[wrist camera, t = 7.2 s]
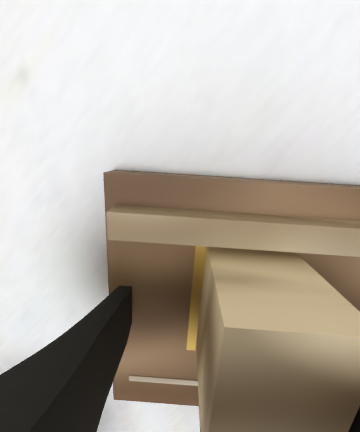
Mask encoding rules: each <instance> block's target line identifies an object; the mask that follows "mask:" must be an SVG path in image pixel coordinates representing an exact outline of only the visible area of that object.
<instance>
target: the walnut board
mask: <svg viewBox="0 0 360 432" xmlns="http://www.w3.org/2000/svg"><path fill="white" fill-rule="evenodd" d="M104 193H105V215H106V237H107V260H108V282H109V294H111V293H112V292H113V291H114V290H115V289H116V288H117V287H118V286H131V287H132V325H131V329H130V333H129V337H128V341H127V345H126V347H125V350H124V353H123V356H122V358H121V361H120V364H119V367H118V369H117V372H116V375H115V377H114V380H113V393H114V400H127V401H140V402H153V403H166V404H179V405H192V406H199V395H198V373H197V352H196V339H197V330H198V320H199V311H200V301H201V292H202V282H203V273H204V263H205V254H206V247H221V248H236V249H250V250H265V251H280V252H295V253H297V254H298V255H299V256H300V257H301V258H302V259H303V260H304V261H305V262H307V263H308V264H309V265H310V266H311V267H312V268H313V269H314V270H315V271H316V272H317V273H318V274H319V275H321V276H322V277H323V278H324V279H325V280H326V281H327V282H328V283H329V284H330V285H331V286H332V287H334V288H335V289H336V290H337V291H338V292H339V293H340V294H341V295H342V296H343V297H344V298H345V299H347V300H348V301H349V302H350V303H351V304H352V305H353V306H354V307H355V308H356V309H357V310H358V311H359V312H360V186H359V185H343V184H328V183H312V182H296V181H281V180H265V179H249V178H234V177H218V176H202V175H187V174H171V173H155V172H140V171H124V170H112V171H108V172H104Z"/></svg>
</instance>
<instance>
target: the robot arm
mask: <svg viewBox="0 0 360 432" xmlns="http://www.w3.org/2000/svg"><path fill="white" fill-rule="evenodd" d="M131 325H132V287H131V286H118V287H117V288H116V289H115V290H114V291H113V292H112V293H111V294H109V295H108V296H107V297H106V298H105V299H104V300H103V301H102V302H101V303H100V304H99V305H98V306H96V307H95V308H94V309H93V310H92V311H91V312H90V313H88V314H87V315H86V316H85V317H84V318H83V319H81V320H80V321H79V322H78V323H76V324H75V325H74V326H73V327H71V328H70V329H69V330H68V331H66V332H65V333H64V334H63V335H61V336H60V337H59V338H57V339H56V340H54V341H53V342H51V343H50V344H49V345H47V346H46V347H44V348H43V349H41V350H40V351H38V352H37V353H35V354H34V355H32V356H30V357H29V358H27V359H25V360H24V361H22V362H21V363H19V364H17V365H16V366H14V367H12V368H11V369H9V370H8V371H6V372H4V373H3V374H1V375H0V432H97V428H98V425H99V421H100V418H101V414H102V411H103V408H104V405H105V402H106V399H107V396H108V394H109V391H110V388H111V386H112V383H113V380H114V377H115V375H116V372H117V369H118V367H119V364H120V361H121V358H122V356H123V353H124V350H125V347H126V345H127V341H128V337H129V333H130V329H131ZM349 432H360V407H359V409H358V411H357V414H356V416H355V418H354V420H353V423H352V425H351V427H350V429H349Z"/></svg>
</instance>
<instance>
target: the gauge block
mask: <svg viewBox="0 0 360 432" xmlns="http://www.w3.org/2000/svg"><path fill="white" fill-rule="evenodd" d="M196 352H197V373H198V395H199V416H200V432H349V429H350V427H351V425H352V423H353V420H354V418H355V416H356V414H357V411H358V409H359V407H360V312H359V311H358V310H357V309H356V308H355V307H354V306H353V305H352V304H351V303H350V302H349V301H348V300H347V299H345V298H344V297H343V296H342V295H341V294H340V293H339V292H338V291H337V290H336V289H335V288H334V287H332V286H331V285H330V284H329V283H328V282H327V281H326V280H325V279H324V278H323V277H322V276H321V275H319V274H318V273H317V272H316V271H315V270H314V269H313V268H312V267H311V266H310V265H309V264H308V263H307V262H305V261H304V260H303V259H302V258H301V257H300V256H299V255H298V254H297V253H295V252H280V251H265V250H250V249H236V248H221V247H206V254H205V263H204V273H203V282H202V292H201V301H200V311H199V320H198V330H197V339H196Z"/></svg>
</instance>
